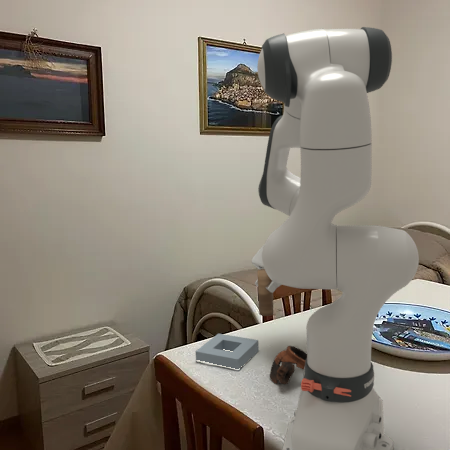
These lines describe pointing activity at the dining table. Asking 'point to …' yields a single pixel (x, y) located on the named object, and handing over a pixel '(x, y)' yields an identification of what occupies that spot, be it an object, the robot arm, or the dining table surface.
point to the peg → (264, 294)
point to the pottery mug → (287, 364)
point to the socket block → (235, 359)
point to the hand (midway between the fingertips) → (263, 288)
